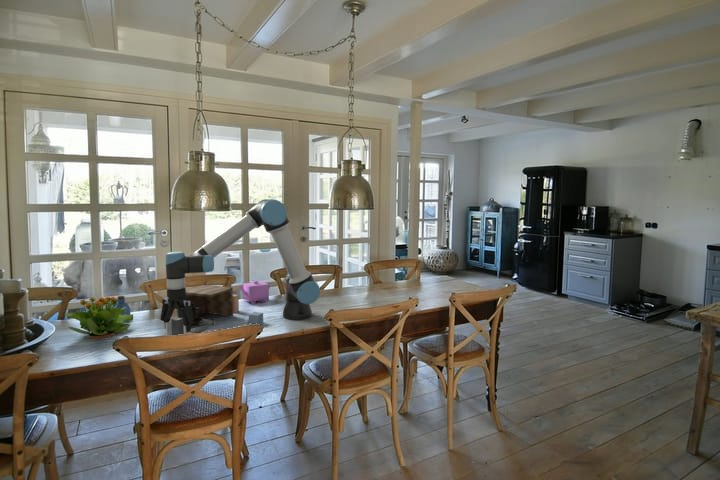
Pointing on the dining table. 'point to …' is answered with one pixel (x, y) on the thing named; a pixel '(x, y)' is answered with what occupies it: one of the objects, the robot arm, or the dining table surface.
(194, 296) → the shelf
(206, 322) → the dark grey angular block
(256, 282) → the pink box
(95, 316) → the potted flower
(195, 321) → the mug
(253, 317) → the cube
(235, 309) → the l-shaped block
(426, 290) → the dining table surface
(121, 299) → the perfume bottle
